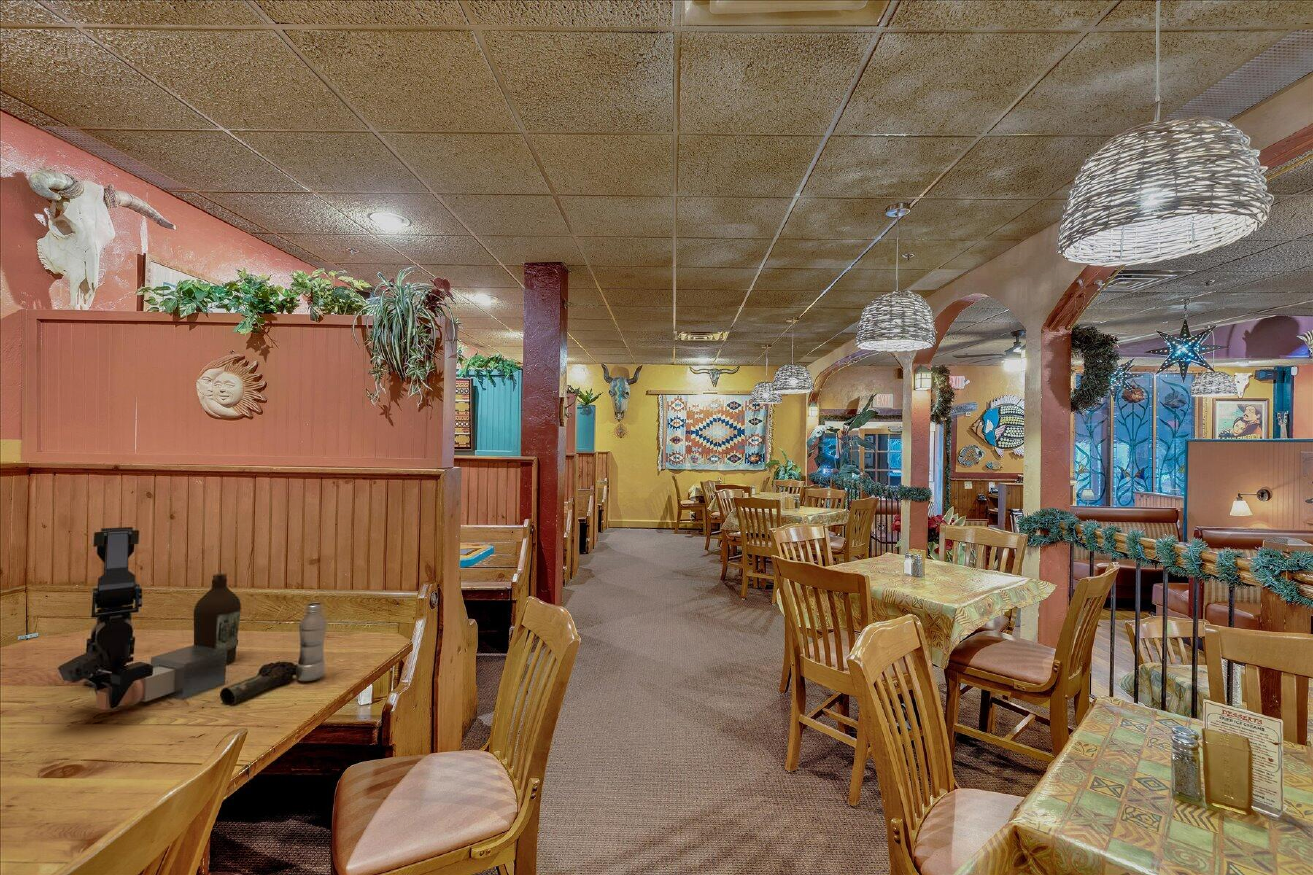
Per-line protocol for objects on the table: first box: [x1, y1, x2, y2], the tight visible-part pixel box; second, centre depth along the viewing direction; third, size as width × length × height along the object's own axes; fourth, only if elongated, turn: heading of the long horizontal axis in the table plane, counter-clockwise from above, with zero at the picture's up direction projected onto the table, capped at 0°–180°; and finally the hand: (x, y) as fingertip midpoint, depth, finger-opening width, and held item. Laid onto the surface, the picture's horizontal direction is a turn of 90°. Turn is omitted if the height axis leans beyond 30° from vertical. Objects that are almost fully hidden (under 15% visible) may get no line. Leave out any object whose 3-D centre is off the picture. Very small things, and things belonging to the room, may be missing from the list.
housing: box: [150, 644, 227, 700], centre depth 143 cm, size 12×10×8 cm
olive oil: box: [193, 572, 242, 666], centre depth 160 cm, size 11×11×25 cm
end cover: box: [95, 666, 176, 711], centre depth 133 cm, size 6×15×6 cm, turn 163°
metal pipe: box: [219, 660, 298, 707], centre depth 143 cm, size 18×7×6 cm, turn 162°
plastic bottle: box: [295, 602, 328, 682], centre depth 150 cm, size 6×7×20 cm
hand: (108, 706), depth 127 cm, fingers closed on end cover, 3 cm apart
